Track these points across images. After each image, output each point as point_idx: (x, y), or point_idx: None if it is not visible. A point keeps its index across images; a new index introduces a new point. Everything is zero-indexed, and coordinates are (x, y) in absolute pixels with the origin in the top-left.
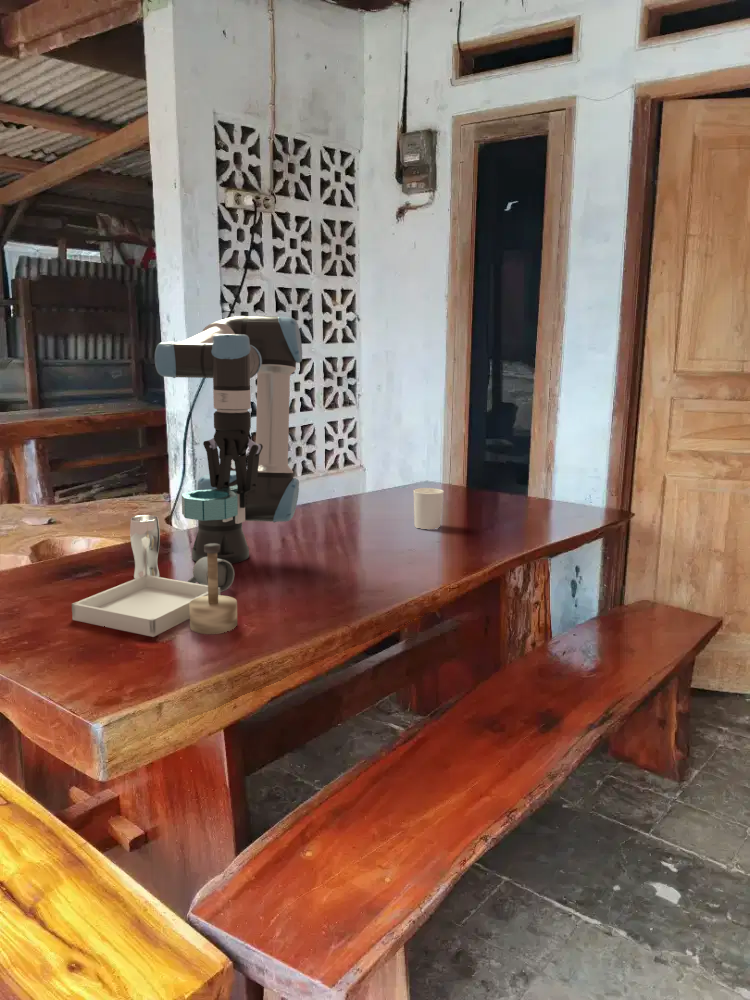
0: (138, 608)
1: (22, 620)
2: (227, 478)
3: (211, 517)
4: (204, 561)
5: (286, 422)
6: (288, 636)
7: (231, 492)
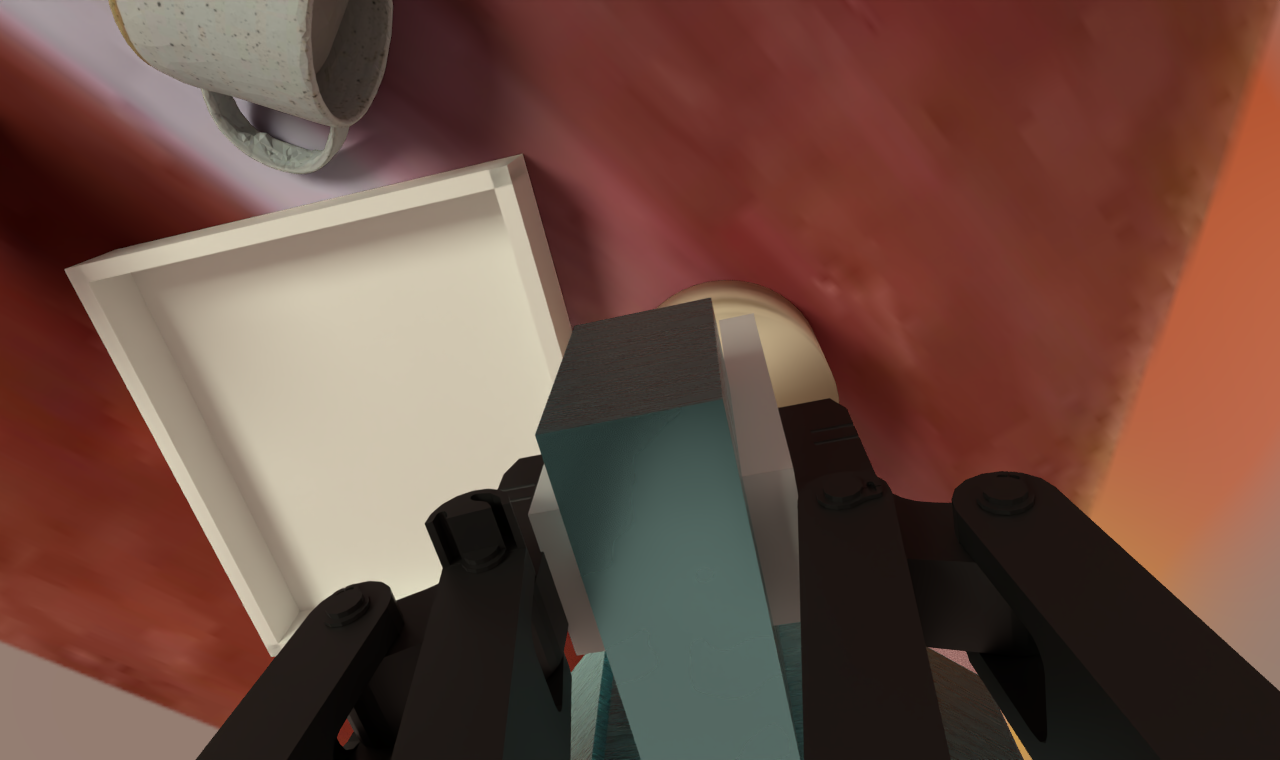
0: (373, 455)
1: (201, 692)
2: (537, 705)
3: None
4: (202, 53)
5: None
6: (1070, 269)
7: None
